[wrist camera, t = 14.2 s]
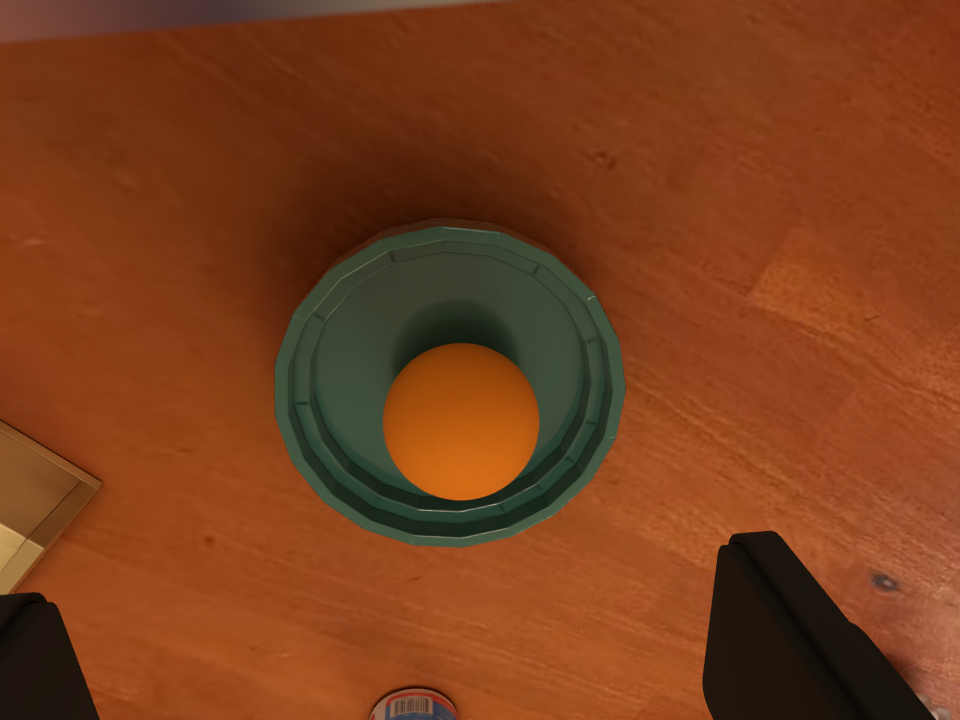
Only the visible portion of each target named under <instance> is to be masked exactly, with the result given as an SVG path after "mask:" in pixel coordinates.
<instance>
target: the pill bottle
mask: <svg viewBox="0 0 960 720" xmlns="http://www.w3.org/2000/svg"><path fill="white" fill-rule="evenodd" d="M369 720H459V719H458V715H457V712H456V710H455V708H454V706H453V705H452V703H451V702H450V701H449V700H448V699H447V698H445V697H444V696H442V695H441V694H439V693H437V692H434V691H431V690H426V689H407V690H402V691H399V692H396V693H393V694H391V695H389V696H387V697H386V698H384V699H383V700H382V701H380V702H379V703H378V704H377V706H376V707H375V708H374V710H373V711H372V713H371V716H370V719H369Z"/></svg>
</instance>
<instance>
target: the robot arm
mask: <svg viewBox="0 0 960 720" xmlns="http://www.w3.org/2000/svg"><path fill="white" fill-rule="evenodd" d="M702 684H703V692H704V697H705V700H706V704H707V706H708V709H709V711H710V713H711V715H712V717H713V720H936V718H935V717H934V716H933V715H932V714H931V712H930V711H929V710H928V709H927V707H926V706H925V705H924V704H923V703H922V701H921V700H920V699H919V698H918V696H917V695H916V694H915V693H914V692H913V690H912V689H911V688H910V687H909V685H908V684H907V683H906V682H905V681H904V679H903V678H902V677H901V676H900V674H899V673H898V672H897V671H896V670H895V668H894V667H893V666H892V665H891V664H890V662H889V661H888V660H887V659H886V657H885V656H884V655H883V654H882V653H881V651H880V650H879V649H878V648H877V646H876V645H875V644H874V643H873V642H872V640H871V639H870V638H869V637H868V636H867V635H866V634H865V633H864V632H863V631H862V630H861V629H860V628H859V627H858V626H856V625H855V624H853V623H851V622H849V621H848V619H847V618H846V617H845V616H844V614H843V613H842V612H841V611H840V609H839V608H838V607H837V606H836V604H835V603H834V602H833V601H832V600H831V598H830V597H829V596H828V595H827V593H826V592H825V591H824V590H823V588H822V587H821V586H820V585H819V583H818V582H817V581H816V580H815V578H814V577H813V576H812V575H811V573H810V572H809V571H808V570H807V569H806V567H805V566H804V565H803V564H802V562H801V561H800V560H799V559H798V557H797V556H796V555H795V554H794V552H793V551H792V550H791V549H790V547H789V546H788V545H787V544H786V543H785V541H784V540H783V539H782V538H781V536H779V535H778V534H777V533H776V532H774V531H762V532H750V533H738V534H734V535H732V536H731V538H730V540H729V544H728V545H722V546H721V547H720V548H719V551H718V557H717V565H716V573H715V582H714V590H713V598H712V606H711V614H710V622H709V630H708V638H707V646H706V655H705V663H704V671H703V682H702ZM0 720H100V719H99V716H98V713H97V711H96V708H95V705H94V703H93V700H92V697H91V695H90V692H89V689H88V687H87V684H86V681H85V679H84V676H83V673H82V671H81V668H80V665H79V663H78V660H77V657H76V655H75V652H74V649H73V647H72V644H71V641H70V639H69V636H68V633H67V631H66V628H65V625H64V623H63V620H62V617H61V615H60V612H59V609H58V608H57V606H56V605H55V604H54V603H53V602H47V601H46V599H45V597H44V596H43V595H41V594H40V593H36V592H30V593H18V594H6V595H0Z"/></svg>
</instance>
